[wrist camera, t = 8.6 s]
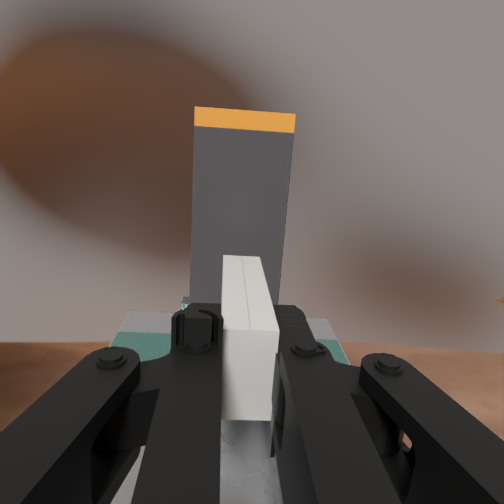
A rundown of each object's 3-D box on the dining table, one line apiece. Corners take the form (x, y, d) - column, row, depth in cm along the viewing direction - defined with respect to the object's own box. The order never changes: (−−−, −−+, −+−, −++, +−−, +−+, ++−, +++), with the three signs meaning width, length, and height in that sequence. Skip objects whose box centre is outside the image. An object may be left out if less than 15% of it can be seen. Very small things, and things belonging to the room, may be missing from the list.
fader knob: (271, 370, 21) (295, 113, 18) (187, 367, 21) (194, 106, 17) (265, 334, 25) (284, 117, 22) (194, 331, 25) (201, 111, 21)
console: (643, 1065, 7) (724, 969, 6) (-279, 1149, 6) (-361, 1047, 5) (323, 343, 30) (329, 300, 29) (129, 336, 29) (128, 291, 28)
